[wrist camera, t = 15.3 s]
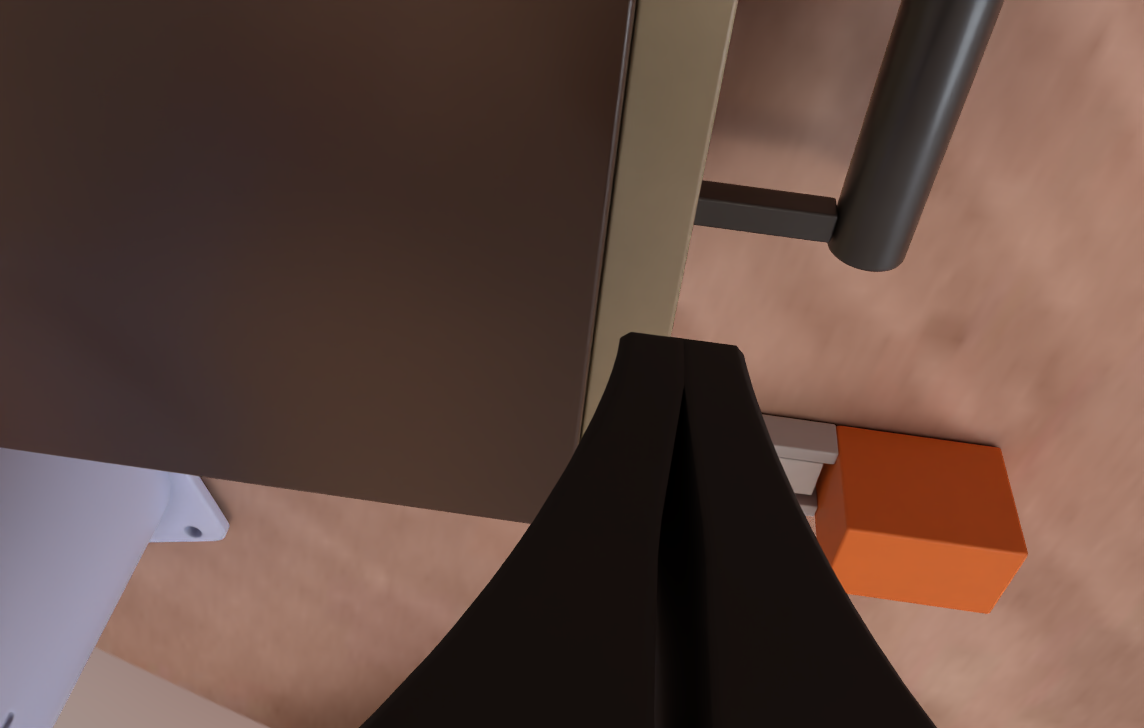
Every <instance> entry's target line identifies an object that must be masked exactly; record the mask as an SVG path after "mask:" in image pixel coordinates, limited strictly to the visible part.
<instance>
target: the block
mask: <svg viewBox="0 0 1144 728" xmlns="http://www.w3.org/2000/svg"><path fill="white" fill-rule="evenodd" d="M762 416H763V419H764V421H765V424H766V427H767V429H768V432H769V435H770V437H771V440H772V442H773V445H774V447H775V450H776V452H777V455H778V457H779V459H780V462H781V464H782V466H783V468H784V471H785V473H786V475H787V477H788V480H789V482H790V484H791V486H792V489H793V491H794V493H795V495H796V498H797V500H798V502H799V504H800V506H801V508H802V510H803V512H804V514H805V515H807V516H814V515H815V522H816V535H817V540H818V542H819V544H820V546H821V548H822V550H823V552H824V554H825V556H826V558H827V559H828V561H829V563H830V565H831V567H832V569H833V571H834V572H835V574H836V576H837V578H838V579H839V581H840V583H841V585H842V587H843V588H844V590H845V592H846V593H847V594H853V595H860V596H867V597H874V598H881V599H888V600H895V601H902V602H909V603H916V604H923V605H930V606H937V607H944V608H951V609H958V610H965V611H972V612H979V613H986V614H988V613H990V612H991V610H992V609H993V607H994V606H995V604H996V603H997V601H998V600H999V598H1000V597H1001V595H1002V594H1003V592H1004V591H1005V589H1006V588H1007V586H1008V585H1009V583H1010V582H1011V580H1012V579H1013V577H1014V576H1015V574H1016V572H1017V571H1018V569H1019V568H1020V566H1021V565H1022V563H1023V562H1024V560H1025V559H1026V557H1027V555H1028V552H1027V548H1026V544H1025V540H1024V536H1023V532H1022V529H1021V525H1020V521H1019V517H1018V513H1017V509H1016V506H1015V502H1014V498H1013V494H1012V490H1011V486H1010V483H1009V479H1008V475H1007V471H1006V467H1005V463H1004V459H1003V456H1002V452H1001V449H1000V448H998V447H990V446H983V445H976V444H969V443H962V442H954V441H947V440H940V439H933V438H926V437H918V436H911V435H904V434H897V433H890V432H882V431H875V430H868V429H861V428H854V427H846V426H837V427H836V426H835V425H834V424H828V423H821V422H814V421H807V420H800V419H792V418H785V417H778V416H771V415H764V414H762Z"/></svg>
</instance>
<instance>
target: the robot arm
mask: <svg viewBox="0 0 1144 728" xmlns="http://www.w3.org/2000/svg"><path fill="white" fill-rule="evenodd" d="M228 529H229V523H228V521H227V519H226V518H225V516H224V514H223V513H222V511H221V510H220V508H219V507H218V505H217V503H216V502H215V500H214V499H213V497H212V496H211V494H210V492H209V491H208V489H207V488H206V486H205V485H204V483H203V481H202V480H201V478H200V477H199V476H194V475H187V474H180V473H173V472H166V471H159V470H152V469H145V468H138V467H131V466H124V465H117V464H110V463H103V462H96V461H89V460H82V459H75V458H68V457H61V456H54V455H47V454H40V453H33V452H27V451H20V450H13V449H6V448H0V728H53V727H54V725H55V723H56V721H57V719H58V717H59V715H60V713H61V711H62V709H63V707H64V705H65V704H66V701H67V700H68V698H69V696H70V694H71V692H72V690H73V688H74V686H75V684H76V682H77V680H78V678H79V676H80V675H81V672H82V671H83V669H84V667H85V665H86V663H87V661H88V659H89V657H90V655H91V653H92V651H93V649H94V647H95V646H96V644H97V642H98V640H99V638H100V636H101V634H102V632H103V630H104V628H105V626H106V624H107V622H108V620H109V618H110V616H111V615H112V613H113V611H114V609H115V607H116V605H117V603H118V601H119V599H120V597H121V595H122V593H123V591H124V589H125V587H126V586H127V584H128V582H129V580H130V578H131V576H132V574H133V572H134V570H135V568H136V566H137V564H138V562H139V560H140V558H141V556H142V555H143V553H144V551H145V549H146V547H147V545H148V543H149V542H189V541H218V540H222V539H223V538H225V536H226V533H227V531H228ZM359 728H937V727H936V726H935V725H934V723H933V722H932V721H931V719H930V718H929V717H928V715H927V714H926V713H925V711H924V710H923V709H922V707H921V706H920V705H919V703H918V702H917V701H916V699H915V698H914V697H913V695H912V694H911V693H910V691H909V690H908V688H907V687H906V686H905V684H904V683H903V681H902V680H901V678H900V677H899V675H898V674H897V672H896V671H895V669H894V668H893V666H892V665H891V663H890V662H889V660H888V659H887V657H886V656H885V654H884V653H883V651H882V650H881V648H880V647H879V645H878V644H877V642H876V641H875V639H874V638H873V636H872V634H871V633H870V631H869V630H868V628H867V626H866V625H865V623H864V622H863V620H862V618H861V617H860V615H859V614H858V612H857V610H856V609H855V607H854V605H853V604H852V602H851V600H850V599H849V597H848V595H847V593H846V592H845V590H844V588H843V587H842V585H841V583H840V581H839V579H838V578H837V576H836V574H835V572H834V571H833V569H832V567H831V565H830V563H829V561H828V559H827V558H826V556H825V554H824V552H823V550H822V548H821V546H820V544H819V542H818V540H817V538H816V536H815V535H814V533H813V531H812V529H811V527H810V525H809V523H808V521H807V519H806V516H805V514H804V512H803V510H802V508H801V506H800V504H799V502H798V500H797V498H796V495H795V493H794V491H793V489H792V486H791V484H790V482H789V480H788V477H787V475H786V473H785V471H784V468H783V466H782V464H781V462H780V459H779V457H778V455H777V452H776V450H775V447H774V445H773V442H772V440H771V437H770V435H769V432H768V429H767V427H766V424H765V421H764V419H763V416H762V413H761V411H760V408H759V405H758V402H757V399H756V396H755V393H754V390H753V387H752V384H751V380H750V377H749V373H748V370H747V366H746V362H745V358H744V355H743V353H742V352H741V351H740V350H739V348H738V347H737V346H734V345H727V344H719V343H712V342H704V341H697V340H689V339H682V338H674V337H667V336H659V335H652V334H644V333H637V332H629V333H628V334H626V335H624V336H622V337H621V338H620V340H619V346H618V352H617V356H616V359H615V362H614V366H613V369H612V372H611V375H610V378H609V380H608V383H607V385H606V388H605V391H604V393H603V395H602V397H601V400H600V402H599V404H598V406H597V409H596V411H595V413H594V415H593V417H592V419H591V421H590V423H589V425H588V427H587V429H586V431H585V433H584V435H583V437H582V439H581V441H580V443H579V445H578V446H577V448H576V450H575V452H574V454H573V456H572V458H571V460H570V462H569V463H568V465H567V467H566V469H565V470H564V472H563V474H562V475H561V477H560V478H559V480H558V482H557V483H556V485H555V487H554V488H553V490H552V491H551V493H550V495H549V496H548V498H547V500H546V501H545V503H544V504H543V506H542V508H541V509H540V511H539V513H538V514H537V516H536V517H535V519H534V520H533V522H532V523H531V525H530V526H529V528H528V529H527V531H526V532H525V534H524V535H523V537H522V538H521V540H520V541H519V542H518V544H517V545H516V547H515V548H514V549H513V551H512V552H511V554H510V555H509V556H508V558H507V559H506V560H505V562H504V563H503V564H502V566H501V567H500V569H499V570H498V571H497V573H496V574H495V575H494V577H493V578H492V579H491V581H490V582H489V583H488V584H487V586H486V587H485V588H484V590H483V591H482V592H481V593H480V594H479V596H478V597H477V598H476V599H475V601H474V602H473V603H472V604H471V606H470V607H469V608H468V609H467V611H466V612H465V613H464V614H463V615H462V617H461V618H460V619H459V620H458V622H457V623H456V624H455V625H454V627H453V628H452V629H451V630H450V631H449V632H448V634H447V635H446V636H445V637H444V638H443V639H442V640H441V642H440V643H439V644H438V645H437V646H436V647H435V648H434V650H433V651H432V652H431V653H430V654H429V655H428V656H427V657H426V658H425V659H424V661H423V662H422V663H421V664H420V665H419V666H418V667H417V668H416V669H415V670H414V671H413V672H412V673H411V674H410V675H409V676H408V677H407V679H406V680H405V681H404V682H403V683H402V684H401V685H400V686H399V687H398V688H397V689H396V690H395V691H394V692H393V693H392V694H391V695H390V697H389V698H388V699H387V700H386V701H385V702H384V703H383V704H382V705H381V706H380V707H379V708H378V709H377V710H376V711H375V712H374V713H373V714H372V715H371V716H370V717H369V718H368V719H367V720H366V721H365V722H364V723H363V724H362V725H361V726H360V727H359Z"/></svg>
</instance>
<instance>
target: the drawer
mask: <svg viewBox="0 0 1144 728" xmlns="http://www.w3.org/2000/svg"><path fill="white" fill-rule="evenodd" d="M1003 2H1004V0H902V1H901V4H900V7H899V10H898V14H897V17H896V20H895V23H894V26H893V29H892V33H891V36H890V39H889V42H888V45H887V48H886V52H885V55H884V58H883V61H882V64H881V67H880V71H879V74H878V77H877V80H876V83H875V87H874V90H873V93H872V96H871V99H870V102H869V106H868V109H867V112H866V115H865V118H864V121H863V125H862V128H861V131H860V134H859V137H858V140H857V144H856V147H855V150H854V153H853V156H852V159H851V163H850V166H849V169H848V172H847V175H846V178H845V182H844V185H843V188H842V191H841V194H840V198H839V201H838V204H837V205H836V199H835V198H831V197H824V196H816V195H809V194H801V193H794V192H786V191H779V190H771V189H764V188H756V187H749V186H741V185H734V184H726V183H719V182H711V181H704V180H702V179H703V174H704V169H705V164H706V159H707V154H708V149H709V144H710V139H711V134H712V129H713V124H714V119H715V114H716V109H717V104H718V99H719V94H720V89H721V84H722V79H723V74H724V69H725V64H726V59H727V54H728V49H729V44H730V40H731V35H732V30H733V25H734V20H735V15H736V10H737V5H738V0H637V1H636V9H635V17H634V25H633V32H632V40H631V48H630V56H629V63H628V71H627V79H626V86H625V94H624V102H623V110H622V117H621V125H620V133H619V141H618V148H617V156H616V164H615V172H614V179H613V187H612V195H611V202H610V210H609V218H608V226H607V233H606V241H605V249H604V257H603V264H602V272H601V280H600V288H599V295H598V303H597V311H596V319H595V326H594V334H593V342H592V349H591V357H590V365H589V373H588V380H587V388H586V396H585V404H584V411H583V419H582V427H581V435H580V441H581V439H582V437H583V435H584V433H585V431H586V429H587V427H588V425H589V423H590V421H591V419H592V417H593V415H594V413H595V411H596V409H597V406H598V404H599V402H600V400H601V397H602V395H603V393H604V391H605V388H606V385H607V383H608V380H609V378H610V375H611V372H612V369H613V366H614V362H615V359H616V356H617V352H618V346H619V340H620V338H621V337H622V336H624V335H626V334H628V333H629V332H637V333H644V334H652V335H659V336H667V337H671V334H672V329H673V324H674V319H675V314H676V309H677V304H678V299H679V294H680V289H681V284H682V279H683V274H684V269H685V264H686V259H687V254H688V249H689V244H690V239H691V234H692V229H693V225H700V226H708V227H715V228H722V229H730V230H737V231H745V232H752V233H760V234H767V235H774V236H782V237H789V238H797V239H804V240H812V241H819V242H826V243H828V247H829V249H830V251H831V252H832V253H833V254H834V255H835V256H836V257H837V258H838V259H839V260H841V261H842V262H844V263H846V264H847V265H849V266H852V267H854V268H857V269H861V270H865V271H873V272H882V271H888V270H892V269H894V268H896V267H897V266H899V265H900V264H901V263H902V262H903V260H904V258H905V255H906V253H907V250H908V248H909V245H910V243H911V240H912V237H913V235H914V232H915V230H916V227H917V224H918V222H919V219H920V217H921V214H922V212H923V209H924V206H925V204H926V201H927V199H928V196H929V193H930V191H931V188H932V186H933V183H934V181H935V178H936V175H937V173H938V170H939V168H940V165H941V162H942V160H943V157H944V155H945V152H946V150H947V147H948V144H949V142H950V139H951V137H952V134H953V131H954V129H955V126H956V124H957V121H958V119H959V116H960V113H961V111H962V108H963V106H964V103H965V101H966V98H967V95H968V93H969V90H970V88H971V85H972V82H973V80H974V77H975V75H976V72H977V70H978V67H979V64H980V62H981V59H982V57H983V54H984V51H985V49H986V46H987V44H988V41H989V39H990V36H991V33H992V31H993V28H994V26H995V23H996V20H997V18H998V15H999V13H1000V10H1001V8H1002V5H1003ZM579 443H580V442H579Z"/></svg>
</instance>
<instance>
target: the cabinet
mask: <svg viewBox="0 0 1144 728" xmlns="http://www.w3.org/2000/svg"><path fill="white" fill-rule="evenodd" d="M636 1H637V0H0V448H6V449H13V450H20V451H27V452H33V453H40V454H47V455H54V456H61V457H68V458H75V459H82V460H89V461H96V462H103V463H110V464H117V465H124V466H131V467H138V468H145V469H152V470H159V471H166V472H173V473H180V474H187V475H194V476H201V477H208V478H215V479H222V480H229V481H236V482H243V483H250V484H257V485H264V486H271V487H278V488H285V489H291V490H298V491H305V492H312V493H319V494H326V495H333V496H340V497H347V498H354V499H361V500H368V501H375V502H382V503H389V504H396V505H403V506H410V507H417V508H424V509H431V510H438V511H445V512H452V513H459V514H466V515H473V516H480V517H487V518H494V519H501V520H508V521H515V522H522V523H529V524H531V523H532V522H533V520H534V519H535V517H536V516H537V514H538V513H539V511H540V509H541V508H542V506H543V504H544V503H545V501H546V500H547V498H548V496H549V495H550V493H551V491H552V490H553V488H554V487H555V485H556V483H557V482H558V480H559V478H560V477H561V475H562V474H563V472H564V470H565V469H566V467H567V465H568V463H569V462H570V460H571V458H572V456H573V454H574V452H575V450H576V448H577V446H578V445H579V442H580V435H581V427H582V419H583V411H584V404H585V396H586V388H587V380H588V373H589V365H590V357H591V349H592V342H593V334H594V326H595V319H596V311H597V303H598V295H599V288H600V280H601V272H602V264H603V257H604V249H605V241H606V233H607V226H608V218H609V210H610V202H611V195H612V187H613V179H614V172H615V164H616V156H617V148H618V141H619V133H620V125H621V117H622V110H623V102H624V94H625V86H626V79H627V71H628V63H629V56H630V48H631V40H632V32H633V25H634V17H635V9H636Z"/></svg>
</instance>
